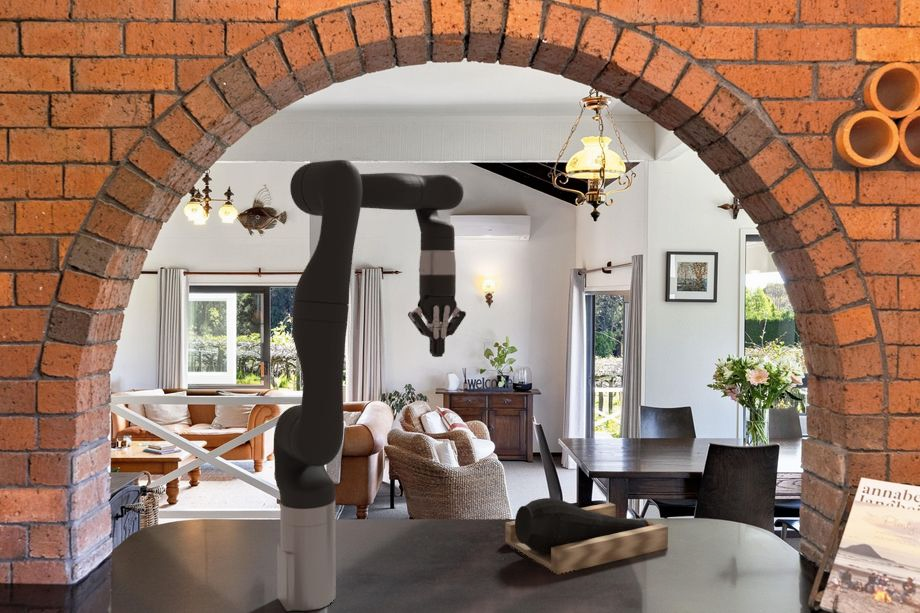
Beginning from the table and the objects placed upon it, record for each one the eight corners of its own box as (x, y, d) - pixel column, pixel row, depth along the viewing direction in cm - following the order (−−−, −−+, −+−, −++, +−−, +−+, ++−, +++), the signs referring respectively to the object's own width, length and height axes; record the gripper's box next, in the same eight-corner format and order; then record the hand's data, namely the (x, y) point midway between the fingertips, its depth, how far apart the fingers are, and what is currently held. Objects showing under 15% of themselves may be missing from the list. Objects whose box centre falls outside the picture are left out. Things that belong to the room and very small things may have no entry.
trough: (557, 574, 137) (557, 551, 137) (505, 543, 153) (505, 522, 152) (667, 548, 150) (668, 526, 150) (609, 522, 166) (609, 502, 166)
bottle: (541, 537, 135) (673, 541, 146) (528, 486, 143) (655, 493, 153) (517, 562, 142) (645, 564, 153) (507, 512, 149) (630, 518, 160)
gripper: (416, 272, 145) (416, 360, 146) (474, 273, 151) (473, 356, 152) (400, 272, 151) (400, 356, 152) (456, 273, 158) (456, 353, 159)
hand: (437, 356), depth 152 cm, fingers closed
